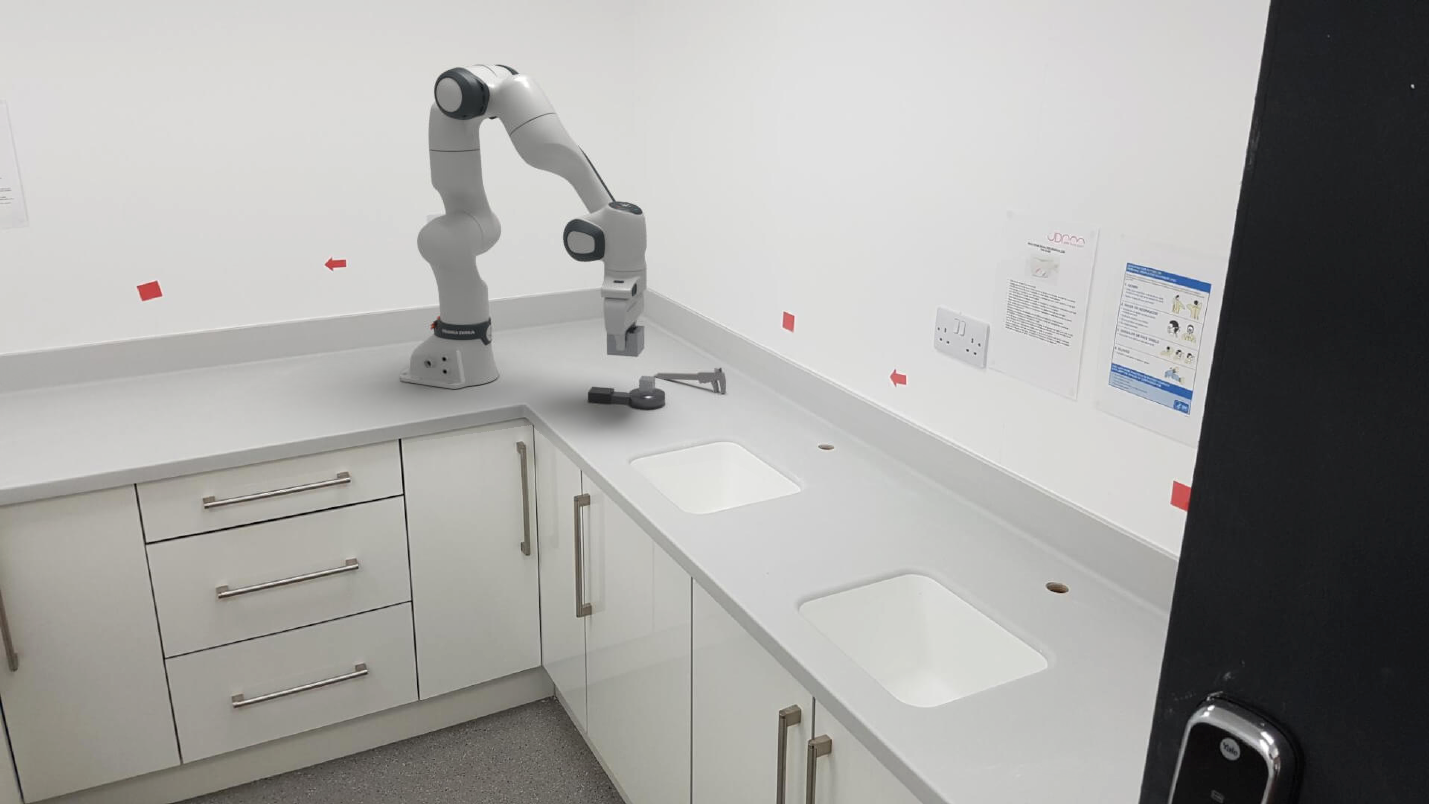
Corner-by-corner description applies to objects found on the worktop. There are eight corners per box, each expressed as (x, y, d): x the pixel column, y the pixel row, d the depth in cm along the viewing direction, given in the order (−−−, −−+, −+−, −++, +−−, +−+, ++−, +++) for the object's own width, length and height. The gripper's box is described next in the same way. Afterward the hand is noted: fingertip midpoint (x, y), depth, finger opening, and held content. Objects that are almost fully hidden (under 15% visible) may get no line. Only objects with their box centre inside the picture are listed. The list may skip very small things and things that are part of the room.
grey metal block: (607, 354, 232) (606, 332, 230) (614, 346, 238) (614, 323, 236) (637, 356, 231) (637, 334, 229) (644, 348, 237) (644, 325, 235)
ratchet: (668, 399, 247) (668, 374, 245) (661, 411, 240) (661, 385, 238) (594, 393, 249) (594, 368, 247) (585, 405, 242) (585, 379, 240)
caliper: (725, 394, 252) (726, 368, 250) (723, 395, 251) (723, 369, 249) (655, 376, 263) (655, 351, 261) (652, 378, 262) (652, 353, 260)
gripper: (622, 269, 240) (622, 330, 244) (598, 291, 220) (599, 356, 225) (650, 271, 239) (650, 332, 243) (628, 292, 220) (629, 358, 224)
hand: (625, 344), depth 234 cm, fingers closed on grey metal block, 7 cm apart
